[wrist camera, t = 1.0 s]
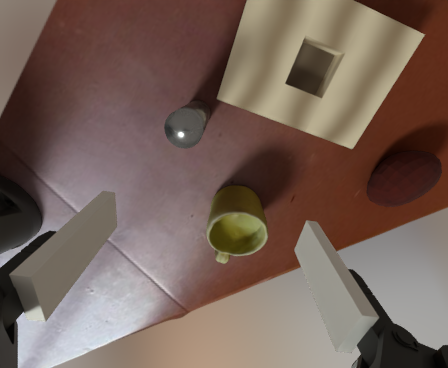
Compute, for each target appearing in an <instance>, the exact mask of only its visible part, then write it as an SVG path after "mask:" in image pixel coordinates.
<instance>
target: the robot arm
mask: <svg viewBox="0 0 448 368" xmlns="http://www.w3.org/2000/svg"><path fill="white" fill-rule="evenodd" d="M40 227H41V215H40V212H39V209H38V207H37V206H36V204H35V202H34V201H33V200H32V198H31V197H30V196H29V195H28V194H27V193H26V192H25V191H24V190H23V189H21V188H20V187H19V186H18V185H16V184H15V183H13V182H11V181H10V180H8V179H6V178H4V177H2V176H0V254H1V253H4V252H6V251H8V250H10V249H14V248H17V247H19V246H21V245H23V244H25V243H26V242H28V241H29V240H30V239H31V238H33V237H34V236H35V235H36V234H37V233H38V232H39V230H40ZM116 227H117V215H116V201H115V193H114V192H107V191H102V192H101V193H100V194H99V195H98V196H97V197H96V198H95V199H93V200H92V201H91V202H90V203H89V204H88V205H87V206H86V207H84V208H83V209H82V210H81V211H80V212H79V213H78V214H77V215H75V216H74V217H73V218H72V219H71V220H70V221H69V222H68V223H66V224H65V225H64V226H63V227H62V228H61V229H60V230H59V231H57V232H56V231H48V232H46V233H44V234H42V235H40V236H38V237H37V238H36V239H35V240H33V241H32V242H31V243H30V244H29V245H28V246H26V247H25V248H24V249H22V250H21V252H19V253H18V254H16V255H15V256H14V257H13V258H12V259H10V260H9V261H8V262H7V263H6V264H4V265H3V266H2V267H1V268H0V368H18V324H17V322H16V319H17V318H18V317H19V316H20V315H21V314H22V313H23V311H24V313H25V316H26V318H27V320H35V321H44V322H46V321H47V319H48V318H49V317H50V315H51V314H52V313H53V311H54V310H55V309H56V307H57V306H58V305H59V303H60V302H61V301H62V299H63V298H64V297H65V295H66V294H67V293H68V291H69V290H70V289H71V287H72V286H73V285H74V283H75V282H76V281H77V279H78V278H79V277H80V275H81V274H82V273H83V271H84V270H85V269H86V267H87V266H88V265H89V263H90V262H91V261H92V259H93V258H94V257H95V255H96V254H97V253H98V251H99V250H100V249H101V247H102V246H103V245H104V243H105V242H106V241H107V239H108V238H109V237H110V235H111V234H112V233H113V231H114V230H115V229H116ZM295 253H296V255H297V258H298V260H299V263H300V265H301V268H302V270H303V272H304V275H305V277H306V280H307V282H308V285H309V287H310V290H311V292H312V294H313V297H314V299H315V302H316V304H317V307H318V309H319V311H320V314H321V316H322V319H323V321H324V324H325V326H326V329H327V331H328V333H329V336H330V338H331V341H332V343H333V346H334V348H335V351H337V352H347V353H352V351H353V350H354V349H355V348H356V346H357V347H358V349H359V351H360V352H361V355H360V356H359V358H358V359H357V360H356V361H355V362H354V363H353V365H352V368H355V367H356V366H357V367H356V368H448V345H443V346H442V347H441V348H440V349H439V350H435V349H433V348H430V347H428V346H425V345H423V344H420V343H418V341H417V340H416V339H415V338H414V337H413V336H412V334H411V333H410V332H408V331H407V330H406V329H404V328H403V327H401V326H399V325H397V324H394V323H393V322H392V321H391V319H390V318H389V316H388V315H387V313H386V312H385V310H384V309H383V308H382V306H381V305H380V303H379V302H378V300H377V299H376V298H375V296H374V295H373V293H372V292H371V290H370V289H369V288H368V286H367V285H366V283H365V282H364V280H363V279H362V278H361V277H360V276H359V275H358V274H357V273H356V272H355V271H354V270H351V269H347V267H346V266H345V264H344V263H343V261H342V259H341V258H340V256H339V255H338V253H337V252H336V250H335V249H334V247H333V246H332V244H331V243H330V241H329V240H328V238H327V237H326V235H325V233H324V232H323V230H322V229H321V227H320V226H319V224H318V223H317V222H314V221H306V223H305V225H304V228H303V230H302V233H301V235H300V238H299V240H298V242H297V245H296V247H295Z"/></svg>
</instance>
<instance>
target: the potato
mask: <svg viewBox="0 0 448 368" xmlns="http://www.w3.org/2000/svg"><path fill="white" fill-rule="evenodd" d="M441 173H442V170H441V162H440V160H439V159H438V158H437V157H436V156H435V155H433V154H431V153H428V152H423V151H405V152H400V153H396V154H394V155H392V156H390V157H388V158H387V159H385V160H384V161H383V162H382V163H380V165H379V166H378V167H377V168H376V170H375V171H374V172H373V174H372V176H371V178H370V180H369V182H368V185H367V195H368V198H369V200H370V201H372V202H374V203H376V204H378V205H381V206H386V207H395V206H400V205H403V204H406V203H409V202H411V201H413V200H415V199H417V198H419V197H420V196H422V195H424V194H425V193H426V192H428V191H429V190H431V188H432V187H433V186H434V185H435V184H436V183H437V182H438V180H439V178H440V176H441Z"/></svg>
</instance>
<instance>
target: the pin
mask: <svg viewBox="0 0 448 368" xmlns="http://www.w3.org/2000/svg"><path fill="white" fill-rule="evenodd" d="M210 115H211V112H210V108H209V106H208V105H207V104H206V103H205V102H203V101H201V100H194V101H192V102H190V103H189V104H187V105H185V106H183V107H182V108H180V109H178V110H176V111H175V112H173V113H171V114H170V115H169V116H168V118H167V119H166V122H165V134H166V136H167V138H168V140H169V141H170V142H171V143H172V144H173V145H175V146H177V147H179V148H191V147H193V146H195V145H196V144H197V143H198V142H199V141H200V139H201V137H202V135H203V132H204V130H205V128H206V126H207V123H208V121H209V119H210Z"/></svg>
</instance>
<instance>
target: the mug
mask: <svg viewBox="0 0 448 368" xmlns="http://www.w3.org/2000/svg"><path fill="white" fill-rule="evenodd" d="M206 234H207V239H208V241H209V243H210V245H211V246H212V247H213V248H214V249H215V258H216V260H217V261H218V262H221V263H226V262H227V261H228V260H229V258H230V255H234V256H243V255H249V254H252V253H254V252H256V251H258V250H259V249H260V248H262V247H263V246H264V245H265V243H266V242H267V239H268V228H267V221H266V217H265V214H264V211H263V208H262V206H261V202H260V200H259V198H258V196H257V195H256V193H255V192H254V191H252V190H251V189H250V188H247V187H245V186H241V185H239V186H238V185H231V186H227V187H224V188H222V189H221V190H219V191H218V192H217V194H216V195H215V196H214V198H213V200H212V203H211V210H210V215H209V219H208V223H207V229H206Z"/></svg>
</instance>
